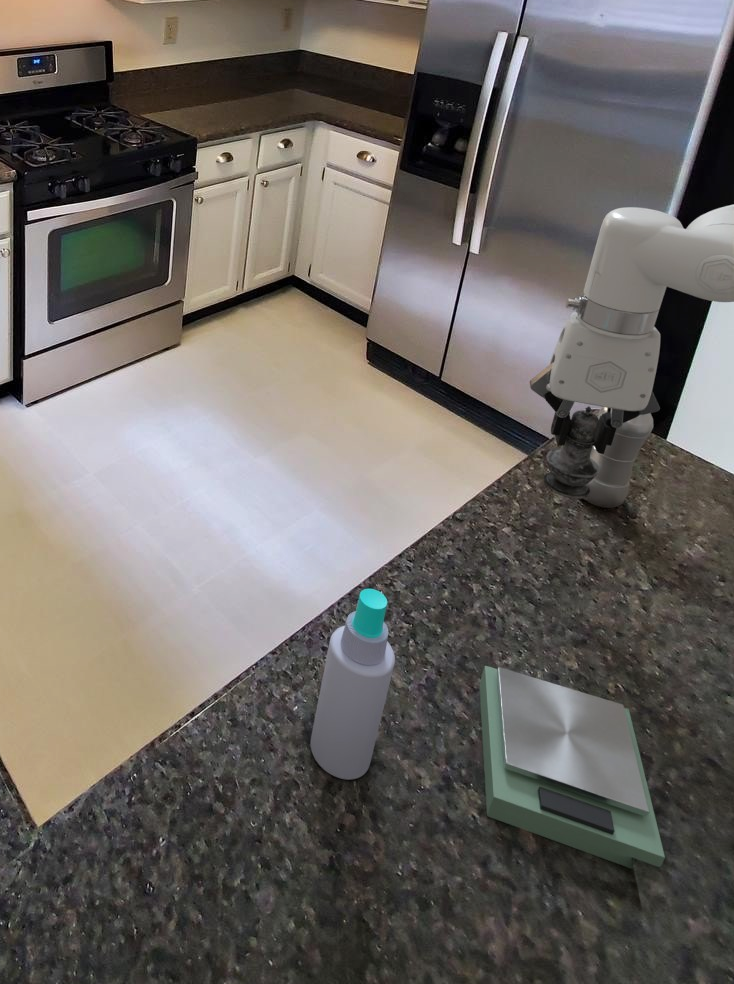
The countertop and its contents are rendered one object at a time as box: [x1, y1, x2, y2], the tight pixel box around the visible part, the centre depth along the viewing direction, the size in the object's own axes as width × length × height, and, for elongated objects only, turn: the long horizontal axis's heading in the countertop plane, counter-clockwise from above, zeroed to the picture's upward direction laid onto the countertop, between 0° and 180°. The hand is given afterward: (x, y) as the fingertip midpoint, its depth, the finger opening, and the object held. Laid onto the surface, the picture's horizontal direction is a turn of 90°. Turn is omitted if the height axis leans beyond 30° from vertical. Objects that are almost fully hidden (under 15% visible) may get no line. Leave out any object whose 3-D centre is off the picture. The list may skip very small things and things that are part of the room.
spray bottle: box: [310, 588, 396, 781], centre depth 79 cm, size 6×6×22 cm
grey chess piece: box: [542, 405, 600, 500], centre depth 100 cm, size 6×6×12 cm
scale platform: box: [496, 666, 649, 817], centre depth 81 cm, size 12×12×1 cm
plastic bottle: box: [582, 407, 654, 509], centre depth 116 cm, size 6×7×20 cm
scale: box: [478, 665, 666, 870], centre depth 81 cm, size 14×16×4 cm
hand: (578, 442), depth 100 cm, fingers closed on grey chess piece, 3 cm apart
